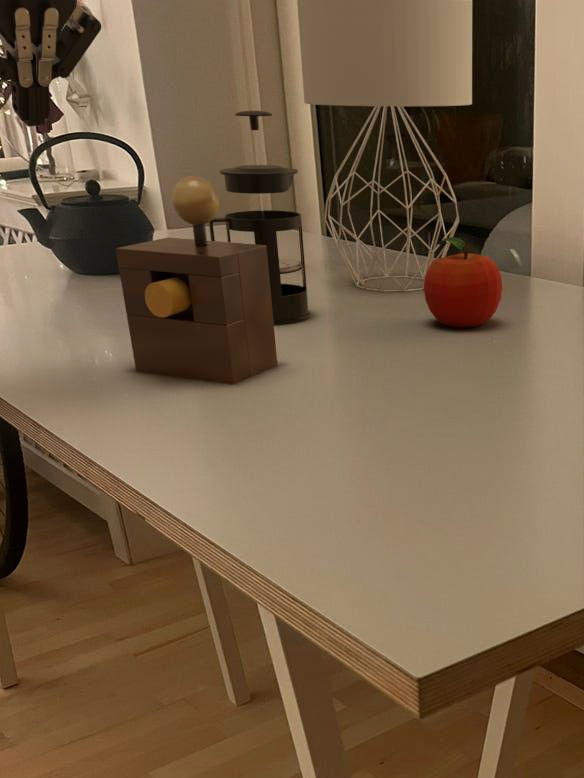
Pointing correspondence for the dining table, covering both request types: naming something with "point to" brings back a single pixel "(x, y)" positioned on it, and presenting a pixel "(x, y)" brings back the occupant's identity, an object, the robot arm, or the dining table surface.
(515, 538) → the dining table surface
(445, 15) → the table lamp
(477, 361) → the dining table surface
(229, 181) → the french press
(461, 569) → the dining table surface
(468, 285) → the fruit
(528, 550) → the dining table surface
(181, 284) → the button
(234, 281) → the switch box
